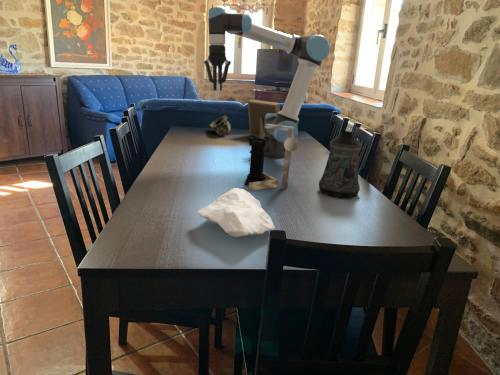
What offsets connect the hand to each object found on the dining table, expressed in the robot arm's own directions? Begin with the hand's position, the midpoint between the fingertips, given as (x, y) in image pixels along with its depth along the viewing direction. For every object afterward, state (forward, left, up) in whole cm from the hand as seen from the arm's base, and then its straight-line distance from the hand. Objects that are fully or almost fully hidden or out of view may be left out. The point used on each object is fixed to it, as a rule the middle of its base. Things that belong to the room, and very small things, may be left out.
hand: (217, 97), depth 176 cm
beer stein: (-40, +51, -32) cm, 72 cm away
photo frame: (-45, -55, -32) cm, 78 cm away
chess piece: (-9, +37, -32) cm, 50 cm away
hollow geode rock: (-20, -71, -32) cm, 80 cm away
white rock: (+11, +76, -32) cm, 83 cm away
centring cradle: (-13, +38, -31) cm, 51 cm away
